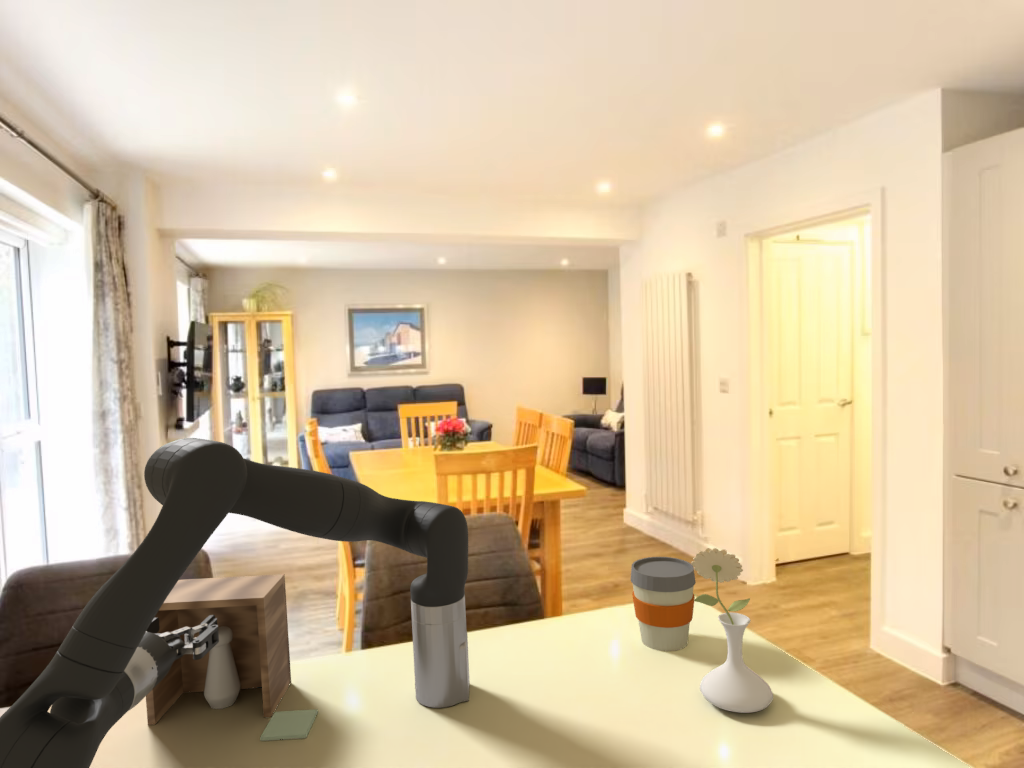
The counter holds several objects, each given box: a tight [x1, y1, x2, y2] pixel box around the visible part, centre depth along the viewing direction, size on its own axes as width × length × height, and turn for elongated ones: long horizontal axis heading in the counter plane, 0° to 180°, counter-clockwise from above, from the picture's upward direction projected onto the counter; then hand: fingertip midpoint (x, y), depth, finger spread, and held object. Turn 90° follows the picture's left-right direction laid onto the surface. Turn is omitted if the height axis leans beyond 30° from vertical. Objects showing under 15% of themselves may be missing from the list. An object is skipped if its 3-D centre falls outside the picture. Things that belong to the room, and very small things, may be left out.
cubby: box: [145, 573, 292, 726], centre depth 111 cm, size 20×11×20 cm, turn 92°
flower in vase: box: [690, 547, 774, 714], centre depth 106 cm, size 13×11×25 cm
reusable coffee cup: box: [630, 556, 697, 652], centre depth 128 cm, size 13×13×15 cm
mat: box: [259, 708, 319, 742], centre depth 104 cm, size 7×7×1 cm
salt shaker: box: [203, 626, 241, 710], centre depth 111 cm, size 6×6×13 cm
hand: (185, 622), depth 99 cm, fingers open, 8 cm apart
